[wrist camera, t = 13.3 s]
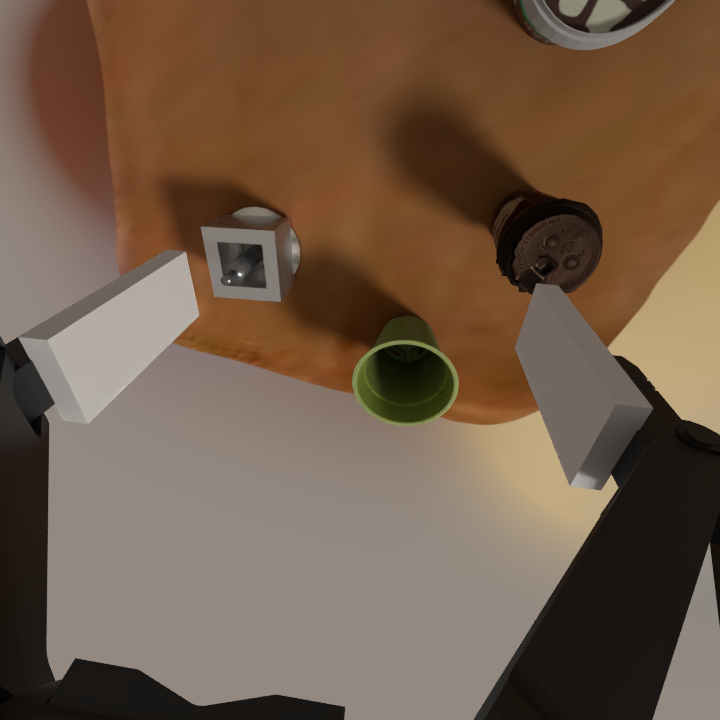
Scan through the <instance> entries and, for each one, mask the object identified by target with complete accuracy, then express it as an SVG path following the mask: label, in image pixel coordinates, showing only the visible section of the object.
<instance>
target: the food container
mask: <svg viewBox="0 0 720 720" xmlns="http://www.w3.org/2000/svg"><path fill="white" fill-rule="evenodd" d="M674 1H675V0H513V4H514V8H515V11H516V14H517V18H518V21H519V23H520V24H521V26H522V27H523V28H524V30H525V31H526V32H527V34H528V35H529V36H530V37H532V38H533V39H535V40H537V41H538V42H540V43H543V44H547V45H560V46H562V47H566V48H570V49H574V50H592V49H599V48H603V47H606V46H610V45H613V44H616V43H618V42H620V41H622V40H624V39H626V38H628V37H630V36H632V35H634V34H635V33H637V32H638V31H640V30H641V29H643V28H644V27H646V26H647V25H648V24H649V23H650V22H652V21H653V20H654V19H655V18H656V17H658V16H659V15H660V14H661V13H662V12H663V11H664V10H666V9H667V8H668V7H669V6H670V5H671V4H672V3H673V2H674Z"/></svg>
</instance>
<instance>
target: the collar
mask: <svg viewBox="0 0 720 720" xmlns="http://www.w3.org/2000/svg"><path fill="white" fill-rule="evenodd" d="M201 231H202V236H203V241H204V246H205V252H206V257H207V262H208V267H209V272H210V277H211V282H212V287H213V292H214V297H224V298H237V299H251V300H264V301H277V302H281V301H282V300H283V298H284V297H285V295H286V294H287V292H288V291H289V290H290V288H291V287H292V285H293V284H294V283H295V282H294V268H293V254H292V240H291V226H290V218H286V217H269V216H251V215H234V214H223V215H221V216H219V217H218V218H216V219H214V220H212V221H210V222H208V223H206V224H204V225H203V226H201ZM241 243H244V244H260V245H262V250H263V258H264V267H265V269H254V268H253V269H252V270H251V271H250V272H249V273H248V274H247V275H246V276H245V277H244V278H243V279H242V280H241V281H240V282H238V283H231V284H229V285H228V286H225V285H223V284H222V283H221V277H222V276H224V269H225V267H226V266H227V265H229V264H230V263H231V262H232V261H233V260H235V259H236V258H237V257H238V256H240V255H241V254H242V250H241Z"/></svg>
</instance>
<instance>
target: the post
mask: <svg viewBox="0 0 720 720" xmlns="http://www.w3.org/2000/svg"><path fill="white" fill-rule="evenodd" d="M233 214H234V215H251V216H269V217H282V216H281V215H280V214H278V213H277V212H275V211H273V210H271V209H268V208H265V207H259V206H250V207H245V208H242V209H240V210H238V211H236V212H235V213H233ZM290 226H291V225H290ZM291 240H292V254H293V268H294V274H295V272H296V271H297V269H298V267H299V264H300V259H301V248H300V243H299V239H298V237H297V234H296V233H295V231H294V229H293V228H292V226H291ZM241 250H242V254H241V255H240V256H238V257H237V258H236V259H235V260H233V261H232V262H231V263H230V264H229V265H227V266H226V267H225V269H224V276H222V277H221V283H222V284H223V285H225V286H228V285H229V284H231V283H238V282H240V281H241V280H242V279H243V278H244V277H245V276H246V275H247V274H248V273H249V272H250V271H251V270H252V269H253V268H254V269H265V267H264V258H263V250H262V245H260V244H244V243H241Z"/></svg>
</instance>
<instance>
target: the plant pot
mask: <svg viewBox="0 0 720 720" xmlns="http://www.w3.org/2000/svg"><path fill="white" fill-rule="evenodd" d="M421 348H425V350H424V351H423V352H421V353H418V351H419V350H420V349H421ZM392 349H393V350H395V351H396V352H397V353H399V354H401V355H400V356H397V355H395V354H394V353H392V352H391V350H392ZM413 357H414V358H413ZM352 386H353V391H354V394H355V397H356V399H357V401H358V402H359V403H360V405H361V406H362V407H363V408H364V409H365V411H367V412H368V413H369V414H370V415H372V416H373V417H375V418H377V419H379V420H381V421H383V422H386V423H388V424H393V425H400V426H414V425H420V424H424V423H427V422H430V421H433V420H434V419H436V418H438V417H440V416H441V415H443V414H444V413H445V412H446V411H447V410H448V409H449V408H450V407H451V405H452V404H453V402H454V400H455V398H456V396H457V392H458V376H457V372H456V370H455V368H454V366H453V364H452V362H451V361H450V360H449V359H448V357H447V356H446V355H445V354H443V353H442V352H441V351H440V348H439V346H438V344H437V341H436V339H435V337H434V334H433V332H432V330H431V328H430V327H429V325H428V324H427V323H426V322H425V321H423V320H422V319H420V318H418V317H414V316H401V317H396V318H394V319H392V320H390V321H389V322H388V323H387V324H386V325H385V326H384V328H383V329H382V331H381V333H380V335H379V337H378V338H377V340H376V342H375V344H374V346H373V348H372V349H370V350H369V351H368V352H366V353H365V354H364V355H363V356H362V357H361V359H360V360H359V361H358V363H357V365H356V367H355V369H354V372H353V377H352Z"/></svg>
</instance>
